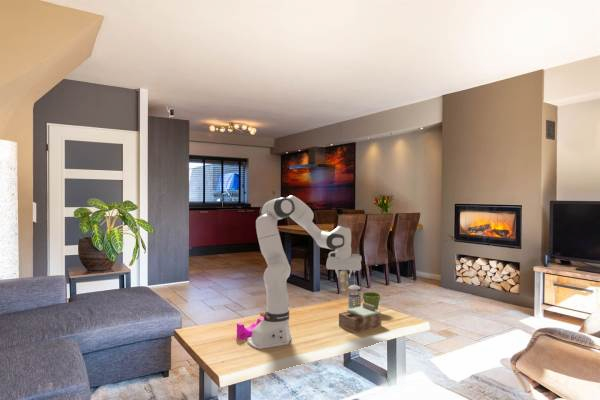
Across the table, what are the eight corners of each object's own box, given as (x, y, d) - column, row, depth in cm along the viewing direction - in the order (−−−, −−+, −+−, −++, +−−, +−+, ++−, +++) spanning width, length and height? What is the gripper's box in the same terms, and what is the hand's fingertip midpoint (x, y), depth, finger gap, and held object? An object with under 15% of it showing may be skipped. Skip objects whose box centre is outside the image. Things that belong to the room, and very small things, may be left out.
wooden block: (344, 292, 215) (343, 272, 214) (341, 291, 217) (339, 271, 217) (348, 291, 216) (347, 271, 216) (345, 290, 219) (343, 270, 219)
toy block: (259, 329, 202) (259, 316, 202) (265, 333, 197) (265, 319, 197) (234, 336, 193) (234, 321, 193) (240, 339, 188) (240, 325, 188)
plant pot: (378, 309, 239) (379, 291, 239) (382, 315, 227) (383, 297, 227) (360, 308, 239) (360, 291, 239) (363, 315, 227) (363, 296, 227)
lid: (363, 317, 201) (363, 310, 201) (347, 311, 212) (347, 305, 212) (380, 312, 208) (380, 306, 208) (364, 307, 219) (364, 301, 219)
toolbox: (354, 333, 198) (355, 319, 197) (338, 326, 208) (338, 313, 208) (381, 325, 209) (381, 313, 209) (364, 319, 220) (364, 307, 220)
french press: (354, 305, 247) (354, 268, 246) (367, 310, 237) (367, 270, 237) (343, 308, 241) (343, 269, 241) (356, 312, 232) (356, 272, 231)
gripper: (362, 253, 217) (362, 277, 217) (327, 252, 222) (327, 275, 222) (361, 255, 211) (361, 279, 211) (325, 254, 216) (325, 277, 216)
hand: (343, 277), depth 217 cm, fingers closed on wooden block, 5 cm apart
